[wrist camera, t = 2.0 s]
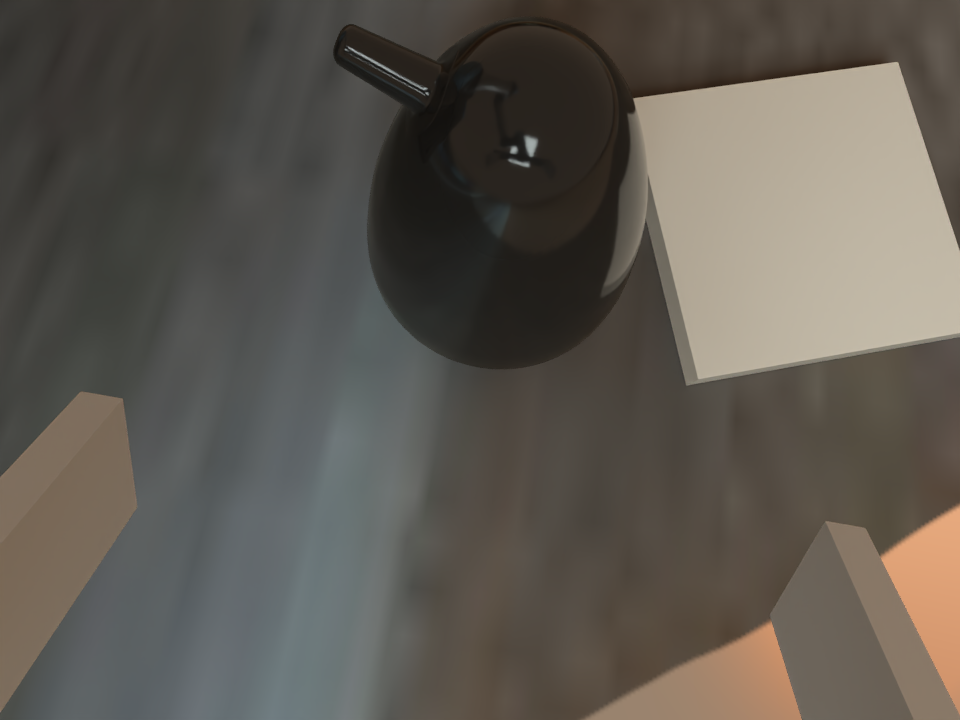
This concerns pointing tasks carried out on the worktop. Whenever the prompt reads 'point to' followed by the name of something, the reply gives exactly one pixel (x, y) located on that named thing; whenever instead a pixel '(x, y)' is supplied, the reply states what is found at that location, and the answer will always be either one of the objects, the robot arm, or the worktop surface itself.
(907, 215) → the tile pad
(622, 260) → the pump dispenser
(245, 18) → the worktop surface
